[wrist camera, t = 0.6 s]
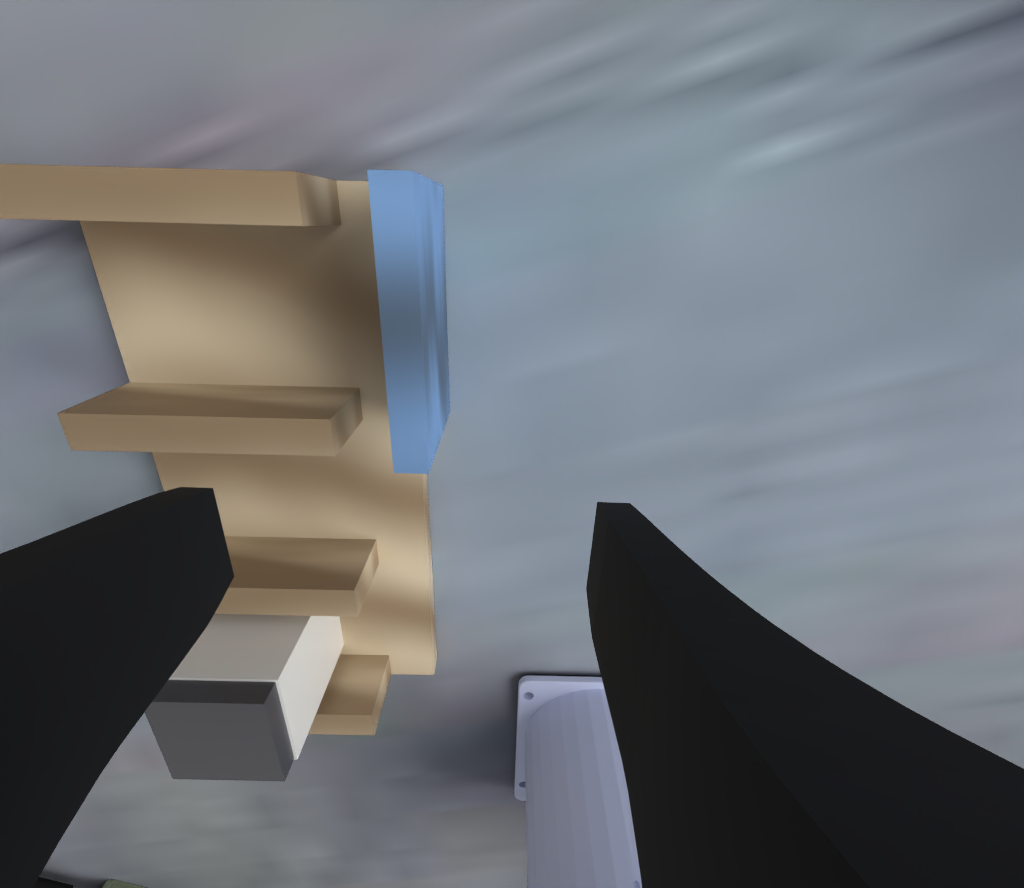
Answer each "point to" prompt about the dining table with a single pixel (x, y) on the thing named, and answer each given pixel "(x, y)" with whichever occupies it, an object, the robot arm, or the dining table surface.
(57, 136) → the dining table surface
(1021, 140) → the dining table surface
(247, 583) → the cable comb
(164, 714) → the grey rectangular block
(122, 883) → the handheld radio
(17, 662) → the robot arm
